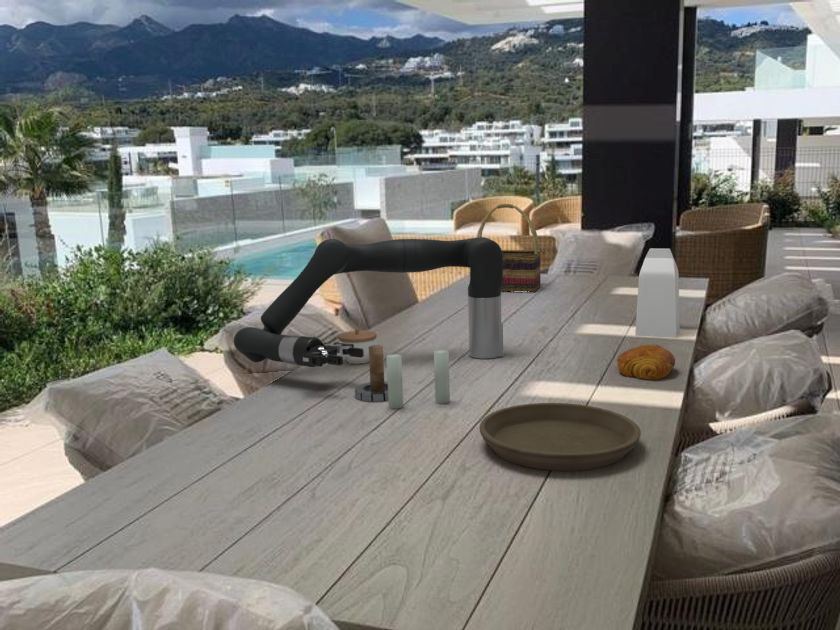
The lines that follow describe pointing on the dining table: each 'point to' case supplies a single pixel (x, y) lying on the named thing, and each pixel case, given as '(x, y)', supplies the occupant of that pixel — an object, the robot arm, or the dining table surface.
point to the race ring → (370, 393)
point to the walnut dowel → (376, 368)
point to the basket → (519, 261)
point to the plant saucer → (559, 435)
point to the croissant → (646, 362)
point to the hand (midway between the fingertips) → (352, 357)
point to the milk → (658, 296)
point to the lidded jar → (358, 343)
